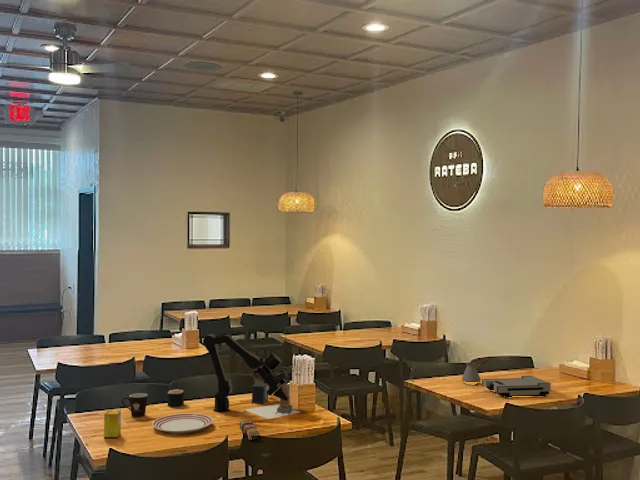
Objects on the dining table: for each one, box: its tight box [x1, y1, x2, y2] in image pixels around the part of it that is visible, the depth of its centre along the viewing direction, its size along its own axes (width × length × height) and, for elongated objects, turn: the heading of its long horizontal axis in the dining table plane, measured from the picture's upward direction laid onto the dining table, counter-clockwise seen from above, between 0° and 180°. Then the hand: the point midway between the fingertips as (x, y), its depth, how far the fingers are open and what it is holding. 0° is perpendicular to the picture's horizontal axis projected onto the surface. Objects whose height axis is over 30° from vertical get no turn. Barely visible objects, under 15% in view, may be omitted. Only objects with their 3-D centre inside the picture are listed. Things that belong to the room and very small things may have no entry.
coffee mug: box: [121, 392, 148, 418], centre depth 317 cm, size 12×9×10 cm
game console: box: [481, 375, 552, 397], centre depth 373 cm, size 21×32×8 cm, turn 100°
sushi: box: [167, 388, 185, 408], centre depth 338 cm, size 8×8×8 cm
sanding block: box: [277, 383, 293, 413], centre depth 325 cm, size 8×6×13 cm
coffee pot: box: [461, 357, 493, 383], centre depth 400 cm, size 21×12×15 cm, turn 115°
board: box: [243, 403, 301, 420], centre depth 323 cm, size 20×21×1 cm
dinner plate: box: [151, 412, 214, 434], centre depth 297 cm, size 28×27×3 cm
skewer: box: [239, 420, 260, 441], centre depth 289 cm, size 21×6×5 cm, turn 18°
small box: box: [251, 381, 269, 405], centre depth 344 cm, size 11×6×10 cm, turn 168°
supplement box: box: [103, 409, 122, 440], centre depth 282 cm, size 6×6×11 cm
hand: (288, 399), depth 324 cm, fingers closed on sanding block, 4 cm apart
